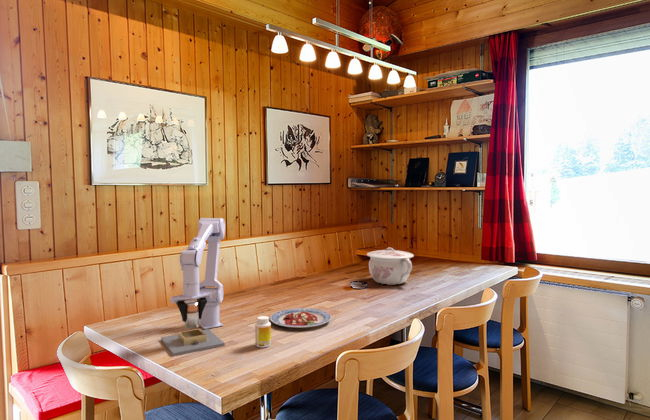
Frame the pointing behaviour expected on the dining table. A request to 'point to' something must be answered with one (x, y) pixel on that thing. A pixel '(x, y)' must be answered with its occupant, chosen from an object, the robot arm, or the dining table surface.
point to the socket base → (179, 348)
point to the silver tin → (192, 314)
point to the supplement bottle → (263, 332)
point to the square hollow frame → (192, 337)
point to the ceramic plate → (300, 317)
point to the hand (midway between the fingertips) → (191, 319)
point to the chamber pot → (390, 266)
